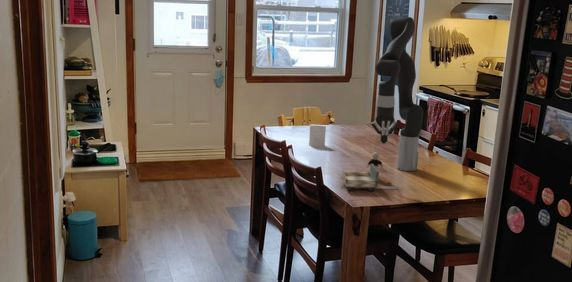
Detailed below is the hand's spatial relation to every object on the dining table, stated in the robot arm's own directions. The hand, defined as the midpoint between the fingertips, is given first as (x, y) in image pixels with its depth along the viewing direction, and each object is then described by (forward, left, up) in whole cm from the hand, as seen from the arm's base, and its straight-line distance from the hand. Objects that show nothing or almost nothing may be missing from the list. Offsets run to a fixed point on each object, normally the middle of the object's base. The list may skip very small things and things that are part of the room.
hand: (383, 143), depth 265 cm
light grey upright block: (+22, -70, -19) cm, 76 cm away
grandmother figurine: (+1, -8, -19) cm, 21 cm away
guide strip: (+6, +7, -19) cm, 21 cm away
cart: (+11, +7, -19) cm, 23 cm away
